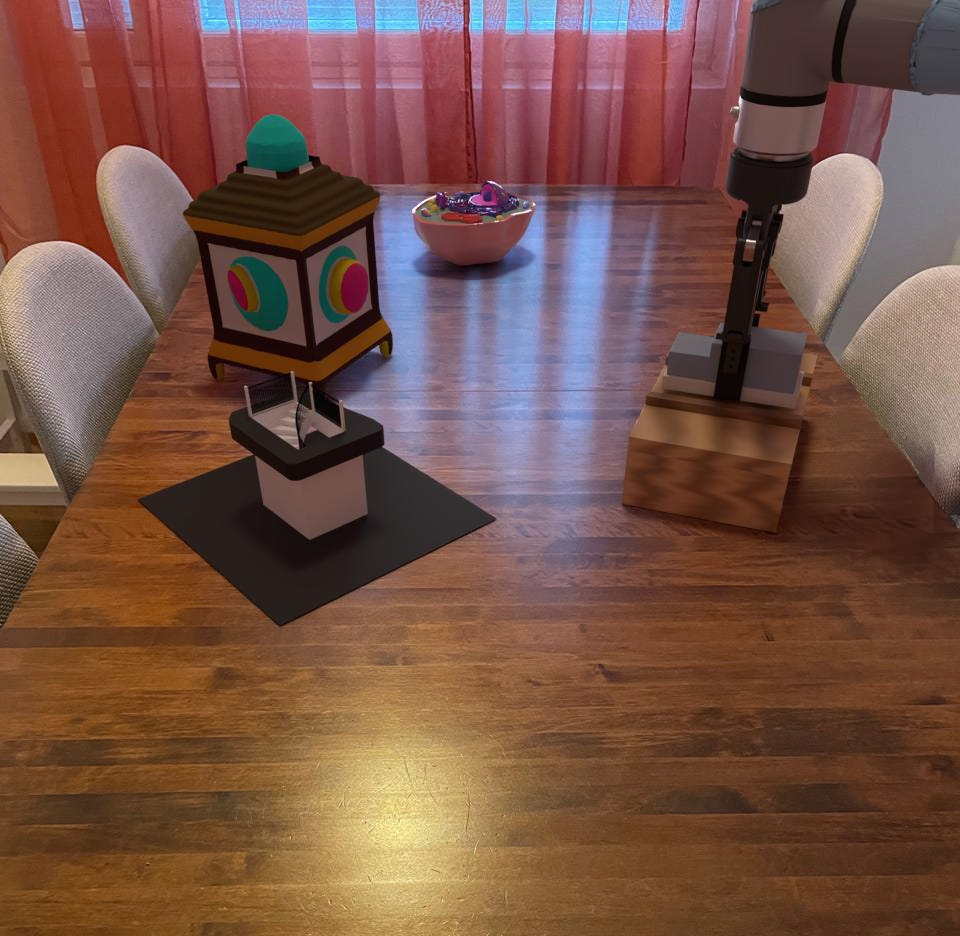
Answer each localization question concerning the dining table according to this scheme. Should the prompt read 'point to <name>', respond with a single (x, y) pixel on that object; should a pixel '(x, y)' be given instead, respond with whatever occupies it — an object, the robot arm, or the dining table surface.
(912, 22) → the robot arm
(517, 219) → the cell model
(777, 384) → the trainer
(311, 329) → the decorative lantern
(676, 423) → the stepped wooden block
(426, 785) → the dining table surface
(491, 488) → the dining table surface
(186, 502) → the black-topped pedestal
